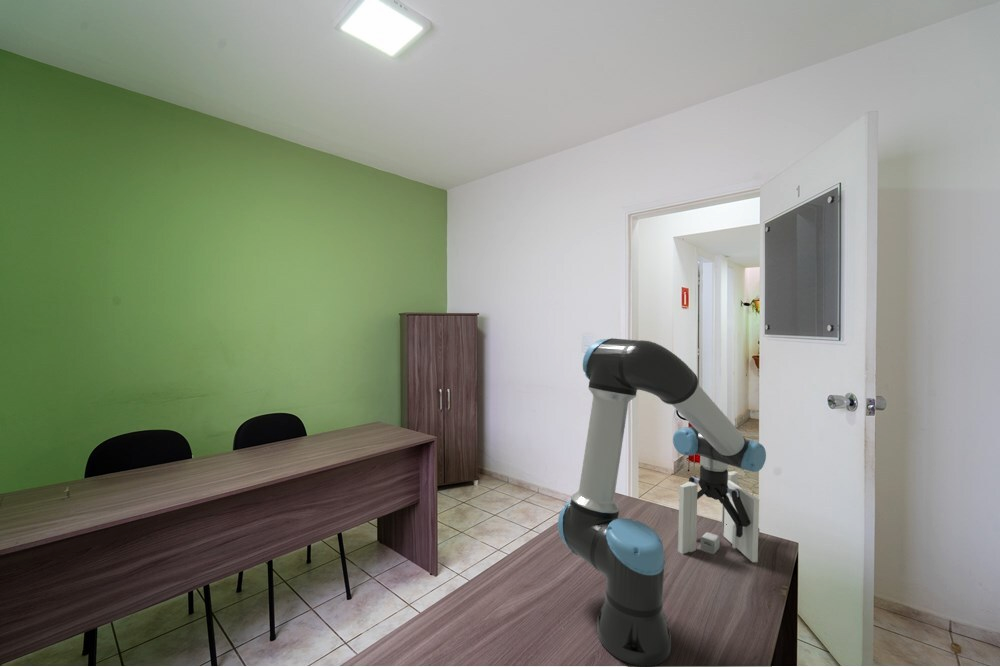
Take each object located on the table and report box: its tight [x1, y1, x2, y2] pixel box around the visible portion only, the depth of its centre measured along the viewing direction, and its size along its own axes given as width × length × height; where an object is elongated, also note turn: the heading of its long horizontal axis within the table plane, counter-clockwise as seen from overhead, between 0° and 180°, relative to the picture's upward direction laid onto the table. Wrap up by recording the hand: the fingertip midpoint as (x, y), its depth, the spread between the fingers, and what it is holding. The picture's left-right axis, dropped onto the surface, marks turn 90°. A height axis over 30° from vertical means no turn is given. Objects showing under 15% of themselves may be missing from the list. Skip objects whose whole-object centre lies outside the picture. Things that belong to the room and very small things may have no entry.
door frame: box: [677, 470, 739, 555], centre depth 125 cm, size 26×2×20 cm, turn 118°
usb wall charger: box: [700, 531, 721, 555], centre depth 123 cm, size 4×7×4 cm, turn 135°
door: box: [723, 480, 760, 563], centre depth 121 cm, size 14×3×18 cm, turn 2°
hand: (711, 536), depth 123 cm, fingers open, 13 cm apart
